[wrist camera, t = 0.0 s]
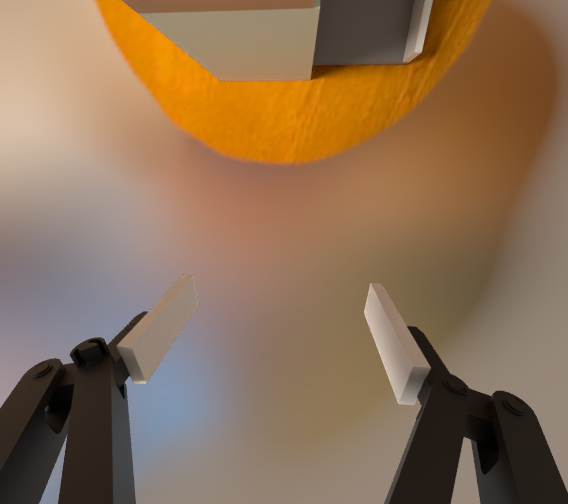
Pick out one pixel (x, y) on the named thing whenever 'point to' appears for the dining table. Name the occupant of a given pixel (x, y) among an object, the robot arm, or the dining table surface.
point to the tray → (370, 31)
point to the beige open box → (240, 35)
